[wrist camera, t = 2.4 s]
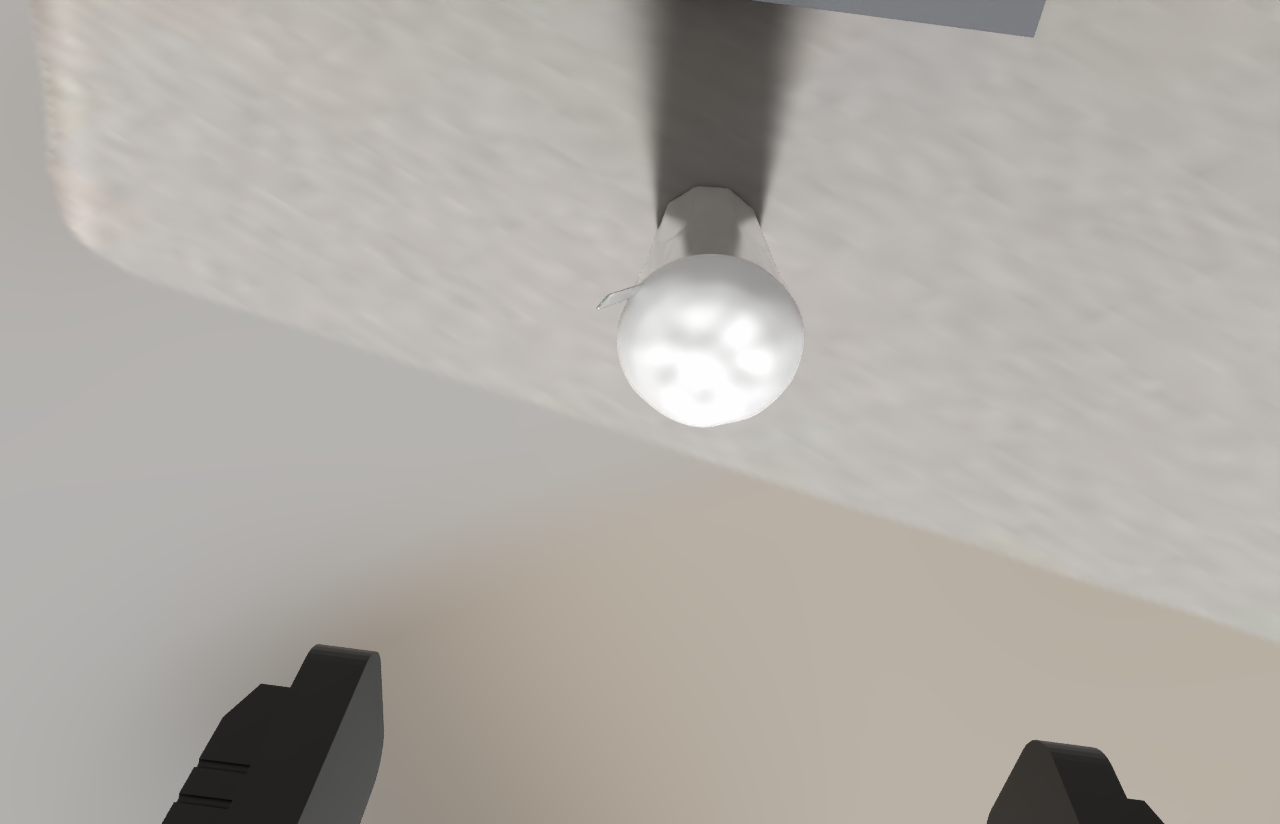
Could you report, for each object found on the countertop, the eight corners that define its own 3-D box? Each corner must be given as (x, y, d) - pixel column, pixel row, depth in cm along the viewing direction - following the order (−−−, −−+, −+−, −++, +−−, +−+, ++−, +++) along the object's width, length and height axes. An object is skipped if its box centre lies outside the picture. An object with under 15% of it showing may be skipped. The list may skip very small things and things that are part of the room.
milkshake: (680, 115, 26) (669, 223, 18) (808, 225, 28) (855, 373, 19) (589, 226, 28) (541, 371, 20) (714, 324, 30) (719, 498, 21)
